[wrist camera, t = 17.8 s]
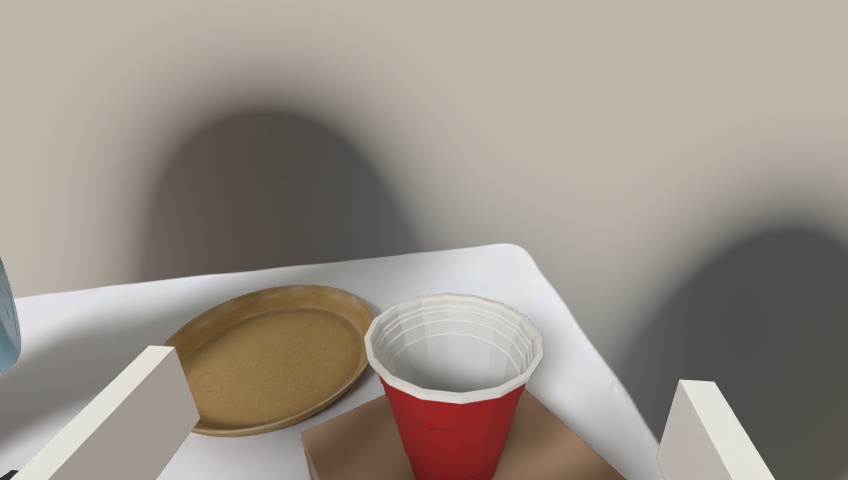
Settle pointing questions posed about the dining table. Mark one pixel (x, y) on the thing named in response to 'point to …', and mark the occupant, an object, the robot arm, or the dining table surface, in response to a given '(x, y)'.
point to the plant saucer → (272, 357)
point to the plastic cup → (453, 379)
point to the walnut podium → (390, 467)
